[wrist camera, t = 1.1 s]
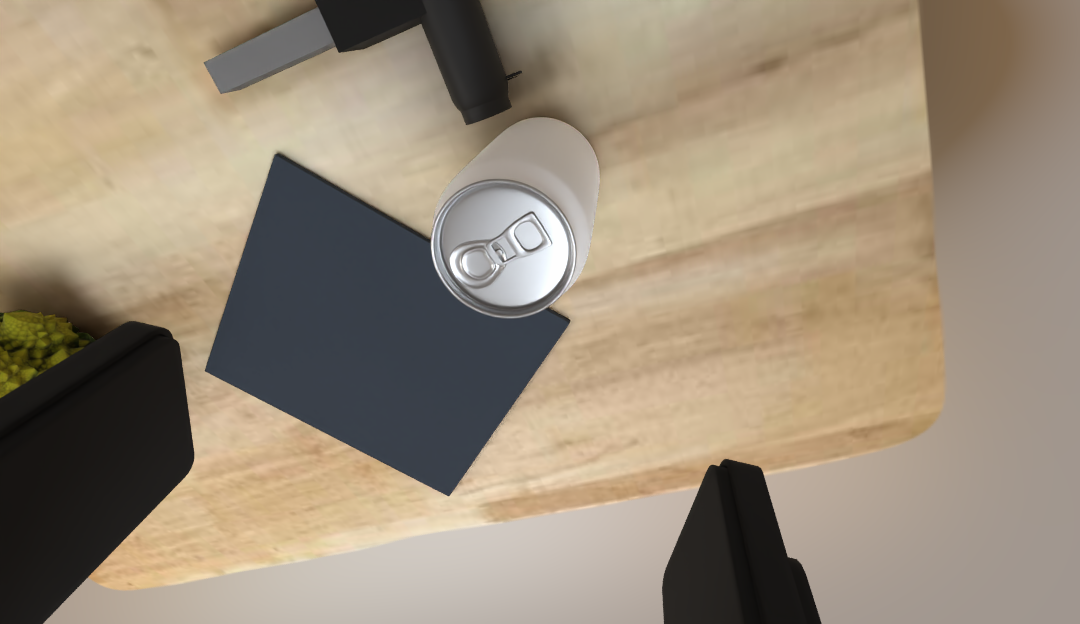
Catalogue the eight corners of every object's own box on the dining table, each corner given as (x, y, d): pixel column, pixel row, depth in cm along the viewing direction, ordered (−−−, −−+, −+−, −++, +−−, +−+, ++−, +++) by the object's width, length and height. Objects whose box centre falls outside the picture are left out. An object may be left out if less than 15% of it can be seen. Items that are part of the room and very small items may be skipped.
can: (464, 154, 33) (385, 222, 22) (562, 91, 30) (528, 131, 20) (525, 249, 35) (481, 352, 24) (621, 196, 32) (619, 284, 22)
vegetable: (167, 354, 37) (-102, 559, 29) (201, 412, 50) (23, 563, 42) (-11, 199, 37) (-330, 363, 29) (71, 299, 50) (-132, 429, 42)
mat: (207, 368, 42) (204, 371, 42) (278, 152, 34) (274, 154, 34) (450, 493, 45) (448, 496, 44) (570, 320, 36) (569, 323, 36)
